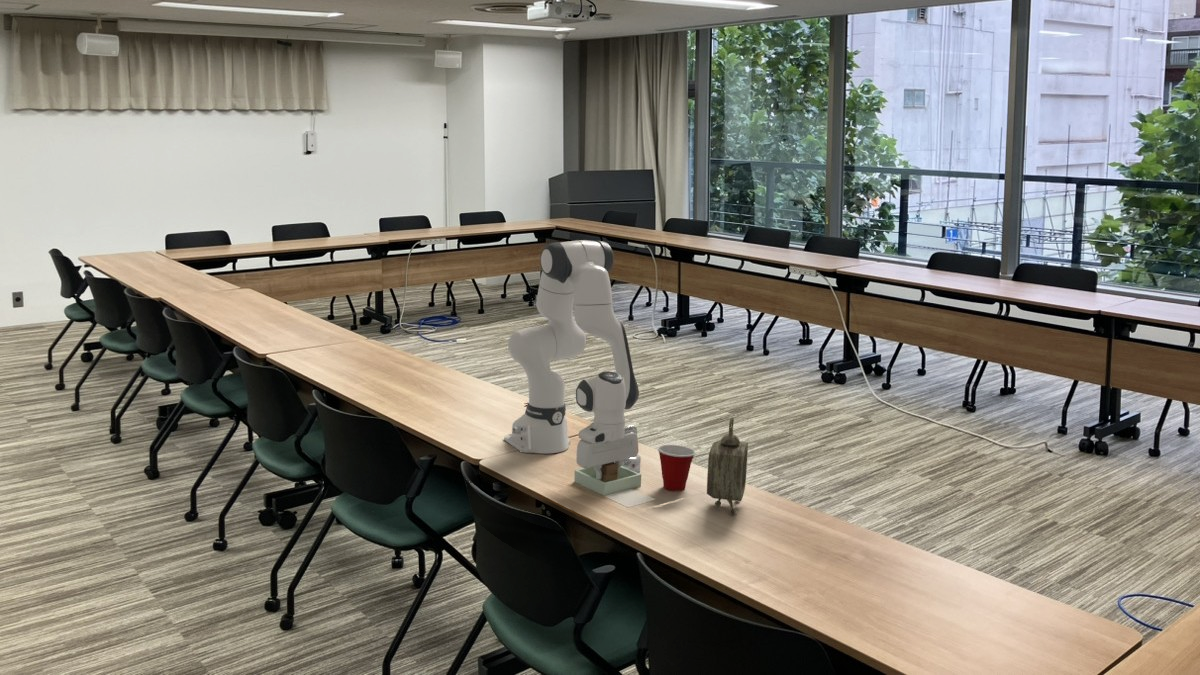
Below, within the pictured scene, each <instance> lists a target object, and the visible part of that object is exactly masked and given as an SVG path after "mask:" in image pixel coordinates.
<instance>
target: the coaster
mask: <svg viewBox="0 0 1200 675" xmlns="http://www.w3.org/2000/svg"><path fill="white" fill-rule="evenodd" d="M603 496H604V495H603ZM604 498H606V499H609V500H611V501H613V502H615V503H618V504H619V505H622V506H624V507H626V508H630V507H635V506H638V505H641V504H644V503H649V502H652V501H656V498H653V497H652V496H648V495H647V494H645V493H642V492H640V491H638V490H635V489H634V488H632V489H628V490H624V491H620V492H617V493H613V494H609V495H605V496H604Z"/></svg>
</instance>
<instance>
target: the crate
mask: <svg viewBox="0 0 1200 675" xmlns="http://www.w3.org/2000/svg"><path fill="white" fill-rule="evenodd" d="M573 482H574V483H577V484H579V485H581V486H583V487H584V488H587V489H588V490H591V491H593V492H595V493H598V494H599V495H602V496H607V495H610V494H614V493H618V492H622V491H625V490H629V489H635V488H638V487H641V486H642V474H641V473H637V472H634V471H632V470H630V469H627V468H625V467H623V466H621V467H620V469H619V475H618V477H617V480H613V481H609V482H602V481H600V480H598V479H597V478H596V471H595V470H594V468H593V467H591V468H587V469H585V468H582V467H581V468H579V469H574V481H573Z"/></svg>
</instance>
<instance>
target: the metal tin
mask: <svg viewBox="0 0 1200 675" xmlns="http://www.w3.org/2000/svg"><path fill="white" fill-rule="evenodd" d="M641 458H642V457H641V455H639V454H637V456H636V457H632V458H628V459H624V460H623V462H622V465H621V466H623V467H625V468H627V469H630V470H632V471H634V472H637V473H639V474H641Z"/></svg>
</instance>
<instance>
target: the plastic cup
mask: <svg viewBox="0 0 1200 675" xmlns="http://www.w3.org/2000/svg"><path fill="white" fill-rule="evenodd" d="M657 451H658V454H659V460H660V466H661V468H660V470H661V477H662V483H663V488H664V489H665V490H668V491H672V492H679V491H684V490H685V489H686V486H687V481H688V478H689V473H690V470H691V469H690V468H691V465H692V462H693V459H694V457H695V455H696V454H697V452H696V450H695V449H694V448H691V447H688V446H683V445H678V444H664V445H663V444H662V445H658V447H657Z"/></svg>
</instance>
